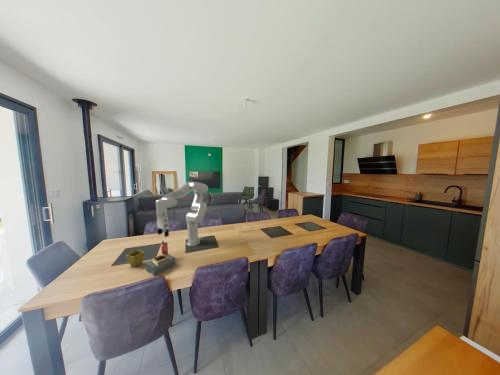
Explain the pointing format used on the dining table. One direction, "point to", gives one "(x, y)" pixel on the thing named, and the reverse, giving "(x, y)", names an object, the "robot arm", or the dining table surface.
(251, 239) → the dining table surface
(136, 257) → the flower pot
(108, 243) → the dining table surface
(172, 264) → the grey box with hole
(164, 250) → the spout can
